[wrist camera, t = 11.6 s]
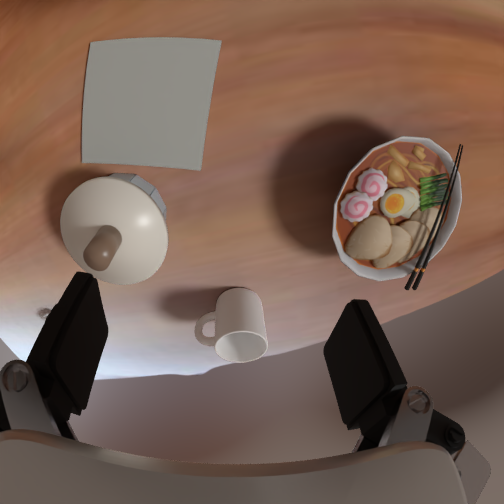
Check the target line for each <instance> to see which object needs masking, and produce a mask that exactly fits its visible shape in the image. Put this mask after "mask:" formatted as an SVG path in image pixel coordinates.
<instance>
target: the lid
mask: <svg viewBox="0 0 504 504" xmlns="http://www.w3.org/2000/svg"><path fill="white" fill-rule="evenodd" d="M60 228H61V234H62V238H63V241H64V244H65V246H66V248H67V250H68V252H69V254H70V255H71V257H72V258H73V259H74V261H75V262H76V263H77V264H78V265H79V266H80V267H81V268H82V269H83V270H85V271H86V272H87V273H91V274H92V275H93V276H94V277H95V278H97V279H100V280H102V281H105V282H108V283H112V284H119V285H129V284H135V283H138V282H141V281H144V280H146V279H147V278H149V277H151V276H152V275H153V274H154V273H155V272H156V271H157V270H158V269H159V268H160V266H161V264H162V263H163V260H164V258H165V255H166V252H167V248H168V240H169V237H168V228H167V224H166V221H165V218H164V216H163V214H162V211H161V210H160V208H159V207H158V205H157V203H156V202H155V201H154V200H153V199H152V197H151V196H150V195H148V194H147V193H146V192H145V191H144V190H143V189H141V188H140V187H139V186H137V185H135V184H133V183H132V182H129V181H127V180H124V179H121V178H117V177H98V178H93V179H90V180H88V181H86V182H84V183H82V184H81V185H80V186H78V187H77V188H76V189H75V190H74V191H73V192H72V193H71V194H70V195H69V196H68V198H67V199H66V201H65V203H64V205H63V208H62V212H61V218H60Z"/></svg>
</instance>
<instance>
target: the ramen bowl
mask: <svg viewBox="0 0 504 504" xmlns="http://www.w3.org/2000/svg"><path fill="white" fill-rule="evenodd" d="M460 146H461V144H460V145H459V149H458V153H457V156H456V160H455V163H454V162H453V160H452V158H451V156H450V154H449V153H448V152H447V151H446V150H444V149H443V148H442V147H440V146H439V145H438V144H436V143H435V142H433V141H432V140H431V139H429V138H421V137H410V136H401V137H399V138H396V139H393V140H391V141H388V142H386V143H383V144H381V145H378V146H376V147H374V148H372V149H370V150H369V151H368V152H367V153H366V154H365V155H364V156H363V157H362V158H361V160H360V161H359V162H358V163H357V164H356V165H355V166H354V167H353V168H352V169H351V170H350V171H349V172H348V174H347V176H346V178H345V181H344V183H343V185H342V187H341V189H340V191H339V193H338V196H337V198H336V200H335V203H334V212H333V228H332V238H333V241H334V243H335V246H336V249H337V252H338V255H339V257H340V260H341V262H342V263H344V264H345V265H346V266H347V267H348V268H349V269H351V270H352V271H353V272H354V273H355V274H356V275H358V276H360V277H364V278H368V279H372V280H376V281H384V280H390V279H396V278H402V277H404V276H406V275H408V274H410V273H412V274H411V276H410V278H409V280H408V282H407V284H406V286H405V289H406V290H409V288H410V286H411V284H412V282H413V280H414V278H415V276H416V274H417V271H418V269H420V268H421V267H422V268H421V270H420V272H419V274H418V276H417V278H416V281H415V283H414V285H413V287H412V288H413V290H416V289H417V287H418V285H419V283H420V280H421V278H422V276H423V273H424V270H425V269H426V266H427V264H428V262H429V261H430V260H431V259H432V258H433V257H434V256H435V255H436V254H437V253H438V252H439V251H440V250H441V249H442V248H443V247H444V245H445V243H446V242H447V240H448V238H449V237H450V235H451V233H452V231H453V230H454V228H455V226H456V223H457V219H458V215H459V211H460V207H461V202H462V192H461V180H460V174H459V172H458V167H459V163H460V159H461V154H462V149H463V145H462V148H461V152H460V156H459V160H458V164H457V168H456V163H457V159H458V155H459V151H460Z"/></svg>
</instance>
